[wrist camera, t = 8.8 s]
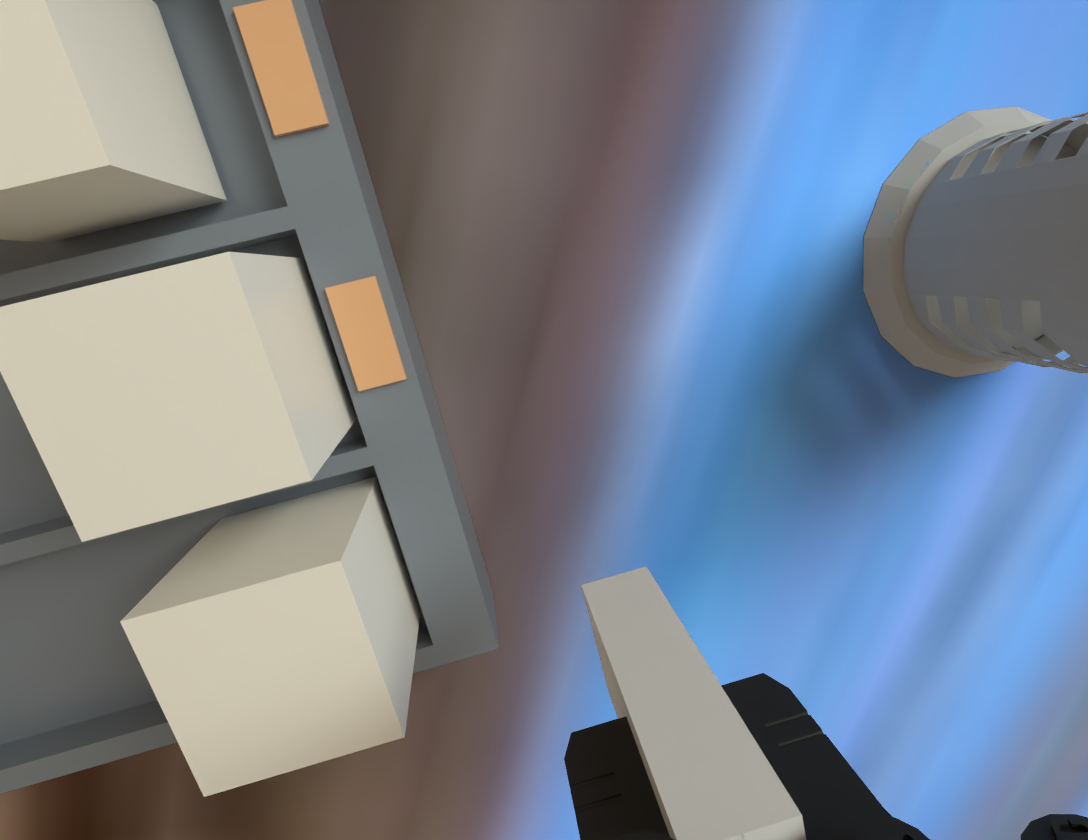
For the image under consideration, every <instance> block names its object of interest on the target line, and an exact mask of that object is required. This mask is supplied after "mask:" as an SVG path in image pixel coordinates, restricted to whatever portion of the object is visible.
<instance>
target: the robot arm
mask: <svg viewBox="0 0 1088 840" xmlns="http://www.w3.org/2000/svg"><path fill="white" fill-rule="evenodd" d="M582 589H583V593H584V597H585V601H586V605H587V609H588V613H589V617H590V621H591V625H592V629H593V633H594V637H595V640H596V644H597V648H598V652H599V656H600V660H601V664H602V668H603V672H604V676H605V680H606V684H607V688H608V691H609V694H610V697H611V700H612V703H613V706H614V709H615V711H616V714H617V717H618V719H616V720H612V721H609V722H606V723H602V724H599V725H596V726H592V727H589V728H586V729H583V730H579V731H576V732H573V733H571V736H570V740H569V743H568V747H567V751H566V754H565V758H564V760H565V765H566V770H567V775H568V780H569V785H570V789H571V794H572V799H573V804H574V809H575V813H576V819H577V824H578V829H579V834H580V839H581V840H930V839H928V838H927V837H926V836H925V835H924V834H923V833H922V832H921V831H919V830H918V829H917V828H915V827H913V826H911V825H909V824H907V823H905V822H903V821H901V820H899V819H897V818H893V817H892V816H891V815H890V814H889V813H888V812H887V811H886V810H885V809H884V808H883V807H882V805H881V804H880V803H879V802H878V800H877V799H876V798H875V797H874V795H873V794H872V793H871V791H870V790H869V789H868V788H867V786H866V785H865V784H864V783H863V781H862V780H861V779H860V778H859V776H858V775H857V774H856V772H855V771H854V770H853V769H852V767H851V766H850V765H849V764H848V762H847V761H846V760H845V759H844V757H843V756H842V755H841V753H840V752H839V751H838V750H837V748H836V747H835V746H834V745H833V743H832V742H831V741H830V739H829V738H828V737H827V736H826V734H823V732H822V729H821V728H820V727H819V726H818V724H817V723H816V722H815V720H814V719H813V718H812V717H811V715H808V713H807V710H806V709H805V708H804V707H803V705H802V704H801V703H800V701H799V700H798V699H797V698H796V696H795V695H794V694H793V693H792V691H791V690H790V689H789V688H788V687H786V686H784V685H783V684H781V683H779V682H778V681H776V680H774V679H773V678H771V677H769V676H767V675H766V674H764V673H762V674H759V675H755V676H752V677H749V678H745V679H742V680H739V681H735V682H732V683H729V684H725V685H722V686H721V685H720V683H719V682H718V680H717V678H716V677H715V675H714V674H713V672H712V670H711V669H710V667H709V666H708V664H707V662H706V661H705V659H704V658H703V656H702V654H701V653H700V651H699V650H698V648H697V646H696V645H695V643H694V642H693V640H692V638H691V637H690V635H689V634H688V632H687V630H686V629H685V627H684V626H683V624H682V622H681V621H680V619H679V618H678V616H677V614H676V613H675V611H674V610H673V608H672V606H671V605H670V603H669V602H668V600H667V598H666V597H665V595H664V594H663V592H662V590H661V589H660V587H659V586H658V584H657V582H656V581H655V579H654V578H653V576H652V574H651V573H650V571H649V570H648V568H647V566H646V567H643V568H639V569H636V570H632V571H629V572H625V573H622V574H618V575H615V576H611V577H608V578H604V579H601V580H597V581H594V582H590V583H587V584H583V585H582ZM1021 840H1088V818H1087V817H1083V816H1079V815H1075V814H1049V815H1047V816H1044V817H1041V818H1039V819H1036V820H1034V821H1031V822H1030V824H1029V825H1028V826H1027V828H1026V829H1025V830H1024V832H1023V833H1022V834H1021Z"/></svg>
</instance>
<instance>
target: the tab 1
mask: <svg viewBox="0 0 1088 840" xmlns="http://www.w3.org/2000/svg"><path fill="white" fill-rule="evenodd" d="M223 201H227V199H226V196H225V194H224V191H223V188H222V185H221V182H220V180H219V177H218V174H217V171H216V168H215V166H214V163H213V160H212V157H211V154H210V151H209V149H208V146H207V143H206V140H205V137H204V135H203V132H202V129H201V126H200V123H199V121H198V118H197V115H196V112H195V109H194V106H193V104H192V101H191V98H190V95H189V92H188V90H187V87H186V84H185V81H184V78H183V75H182V73H181V70H180V67H179V64H178V61H177V59H176V56H175V53H174V50H173V47H172V45H171V42H170V39H169V36H168V33H167V30H166V28H165V25H164V22H163V19H162V16H161V14H160V11H159V8H158V5H157V4H156V3H155V2H154V1H152V0H0V240H14V241H28V242H42V243H50V242H54V241H58V240H62V239H66V238H71V237H75V236H79V235H83V234H88V233H92V232H96V231H100V230H104V229H109V228H113V227H117V226H121V225H126V224H130V223H134V222H138V221H142V220H147V219H151V218H155V217H159V216H164V215H168V214H172V213H176V212H180V211H185V210H189V209H193V208H197V207H202V206H206V205H210V204H214V203H218V202H223Z"/></svg>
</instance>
